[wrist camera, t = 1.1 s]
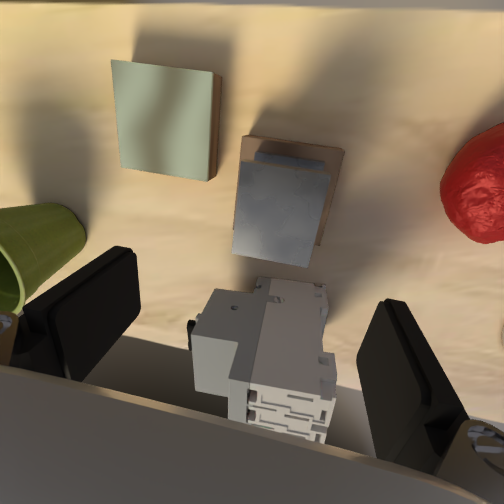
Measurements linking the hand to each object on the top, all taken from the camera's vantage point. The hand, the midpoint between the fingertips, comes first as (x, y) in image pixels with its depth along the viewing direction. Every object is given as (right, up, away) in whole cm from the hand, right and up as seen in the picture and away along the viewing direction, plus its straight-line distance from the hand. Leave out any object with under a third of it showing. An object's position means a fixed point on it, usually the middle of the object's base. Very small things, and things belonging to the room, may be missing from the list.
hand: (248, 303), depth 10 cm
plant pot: (-25, +5, +25) cm, 36 cm away
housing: (+3, +7, +15) cm, 17 cm away
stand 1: (-8, +15, +17) cm, 24 cm away
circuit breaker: (+2, -4, +25) cm, 25 cm away
